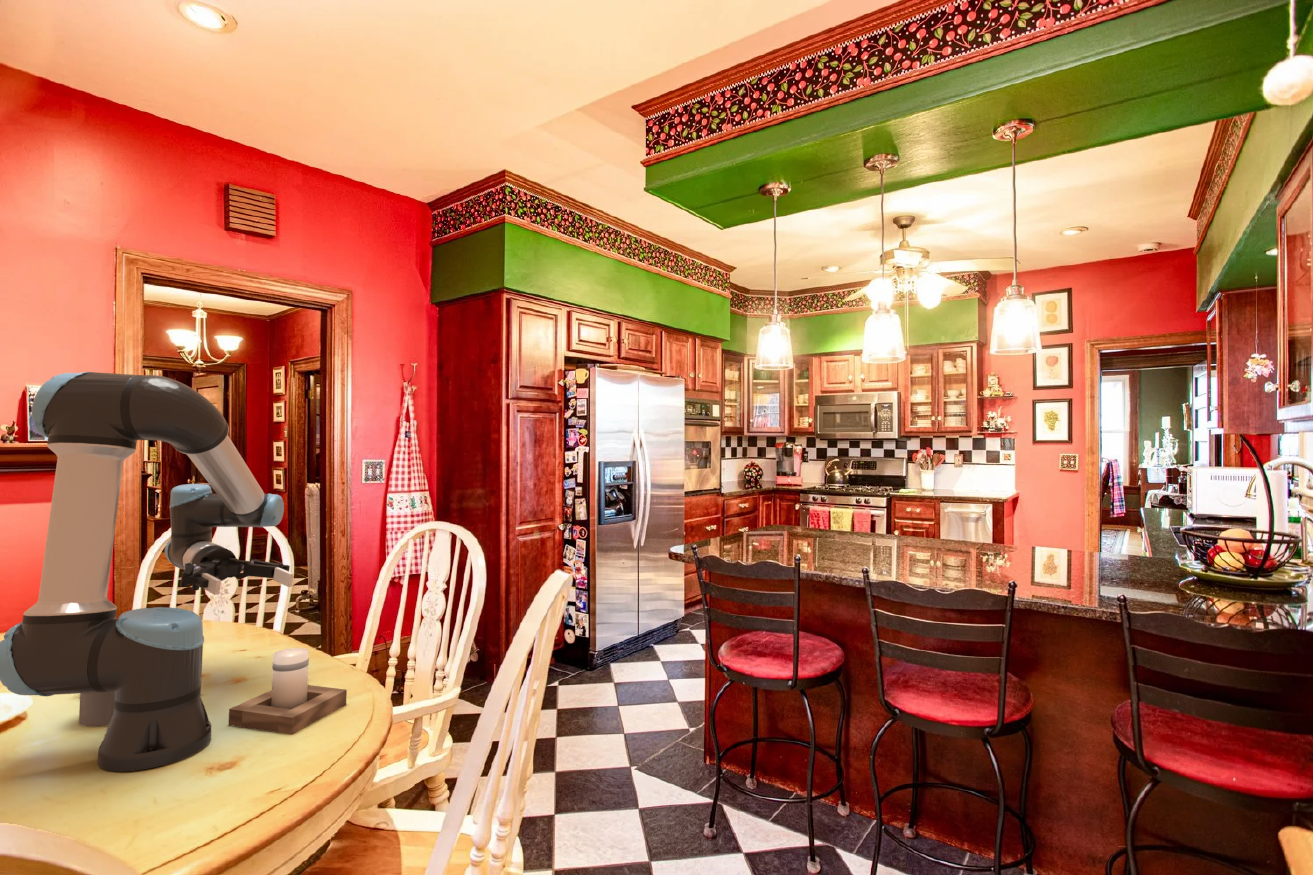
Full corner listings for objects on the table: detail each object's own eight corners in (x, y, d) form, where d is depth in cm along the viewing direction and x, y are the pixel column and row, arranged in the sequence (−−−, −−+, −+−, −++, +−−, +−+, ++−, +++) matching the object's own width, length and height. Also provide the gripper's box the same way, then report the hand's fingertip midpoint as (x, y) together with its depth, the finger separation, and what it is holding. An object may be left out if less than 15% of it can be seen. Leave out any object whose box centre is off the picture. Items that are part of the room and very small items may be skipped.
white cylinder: (289, 723, 119) (292, 659, 119) (262, 719, 120) (265, 655, 121) (314, 710, 125) (316, 649, 125) (288, 706, 126) (290, 646, 127)
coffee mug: (76, 731, 114) (78, 675, 114) (81, 712, 121) (83, 660, 122) (170, 713, 122) (172, 661, 122) (169, 697, 130) (170, 648, 130)
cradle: (291, 734, 114) (292, 717, 114) (228, 725, 118) (229, 708, 118) (346, 704, 128) (346, 689, 128) (288, 696, 131) (288, 682, 131)
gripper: (268, 573, 149) (315, 594, 137) (138, 585, 128) (180, 611, 116) (272, 542, 149) (320, 560, 137) (143, 548, 128) (186, 570, 117)
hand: (256, 583), depth 127 cm, fingers open, 13 cm apart
